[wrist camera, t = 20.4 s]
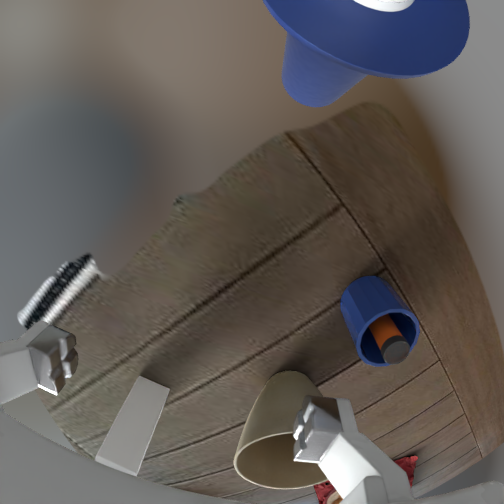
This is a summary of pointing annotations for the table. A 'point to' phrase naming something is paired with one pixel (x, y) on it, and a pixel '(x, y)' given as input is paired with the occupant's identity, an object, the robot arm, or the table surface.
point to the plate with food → (332, 498)
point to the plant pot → (276, 436)
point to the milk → (133, 427)
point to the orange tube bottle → (389, 340)
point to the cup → (375, 316)
